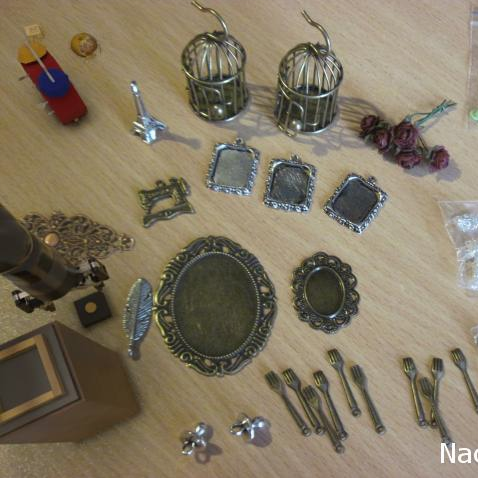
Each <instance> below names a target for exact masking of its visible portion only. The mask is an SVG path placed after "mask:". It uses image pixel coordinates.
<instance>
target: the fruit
mask: <svg viewBox="0 0 478 478" xmlns="http://www.w3.org/2000/svg"><path fill="white" fill-rule="evenodd" d="M70 49H71V50H72V51H73V53H74V54H75V55H77V56H78V57H80V58H85V61H84V65H85V66H89V67H91V66H93V65H94V64H89V63H91V62H92V61H94V60H96V59H97V58H99V56H98V55H97V54H96V53H94V52H96V50H97V49H98V51H97V53H98V54H100V53H103V51H102V47H101V44H100V43H98V42H97V39H96V38H95V37H94V36H93V35H91V34H89V33H87V32H80V33H77V34H75V35H74V36H73V37H72V38H71V39H70Z"/></svg>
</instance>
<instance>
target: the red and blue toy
mask: <svg viewBox="0 0 478 478" xmlns="http://www.w3.org/2000/svg"><path fill="white" fill-rule="evenodd" d="M17 62H19V64H20V66H21V68H22V69H23V70H24V72H25V75H24V76H21V77H20V78H18V79H17V81H18V82H21V81H24V80H25V79H26V78H29V79H30V81H31V83H33V85H32V84H30V85H29V90H30V89H31V90H34V88H36V89H37V91H38V92H39V94H40V95H41V96H42V98H43V99H44V101H45V102H39V103H37V105H36V108H38V109H37V110H43V109H44V108H45V107H46V106H47V105H48V106H49V108H50V109H51V110H52V111H48V113H47V115H48V116H53V114H54V115H55V116H56V118H57V119H58V120H59V121H60V123H61V124H62V126H66V125H67V124H69V123H71V122H73V121H74V122H78V121H79V118H81V117H82V116H84V115H85V114H87V113H89V111H88V107H87V106H86V103H85V102H84V100H83V98H82V97H81V95H80V94H79V92H78V91H77V89H76V87H75V86H74V84H73V82H72V81H71V80H70V77H69V75H68V74H67V73H66V72H65V71H64V70H63V68H62V67H61V65H60V64H59V62H58V61H57V60H56V59H55V58H54V56H53V55H52V54H51V52H50V51H48V49H47V46H46V45H44V44H42V43H40V42H39V41H36V42H34V41H32V42H30V41H28V42H27V40H25V39H24V40H23V44H22V45H21V46H20V47H18V49H17Z"/></svg>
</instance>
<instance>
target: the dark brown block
mask: <svg viewBox="0 0 478 478" xmlns="http://www.w3.org/2000/svg"><path fill="white" fill-rule="evenodd" d="M73 305H74V308H75V309H76V313H77V316H78V319H79V320H80V323H81V326H82V327H83V328H85V329H88V328H90V327H92V326H95V325H97V324H100V323H101V322H104V321H106V320H108V319H110V318H113V313H112V310H111V309H110V306H109V304H108V300H107V298H106V296H105V293H104V292H103V291H98V290H96V291H95V292H93V293H90V294H87V295H86V296H83V297H81V298H79V299H77V300H74V301H73Z"/></svg>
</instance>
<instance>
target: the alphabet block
mask: <svg viewBox="0 0 478 478" xmlns="http://www.w3.org/2000/svg"><path fill="white" fill-rule="evenodd" d="M23 30H24V32H25V35H26V37H27V39H28V42H32V41H34V42H39V41H42V40H45V37H44V36H43V33H42V31H41V28H40V26H39V24H38V23H34V24H31V25H27V26H23Z"/></svg>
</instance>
